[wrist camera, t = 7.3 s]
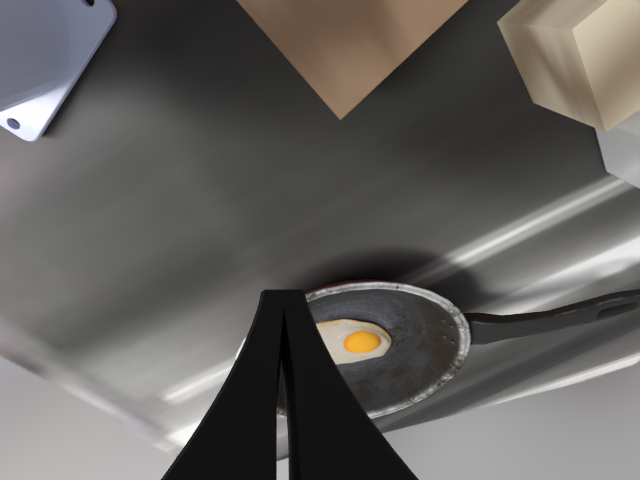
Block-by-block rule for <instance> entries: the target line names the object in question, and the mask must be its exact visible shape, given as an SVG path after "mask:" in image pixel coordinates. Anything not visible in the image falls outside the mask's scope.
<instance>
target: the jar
mask: <svg viewBox="0 0 640 480" xmlns="http://www.w3.org/2000/svg"><path fill="white" fill-rule="evenodd" d="M595 131H596V135H597V138H598V142H599V146H600V150H601V154H602V157H603V161H604V165H605V169H606V171H607V172H608V173H610V174H612V175H614V176H616V177H618V178H620V179H622V180H624V181H626V182H627V183H629V184H631V185H633V186H635V187H637V188H639V189H640V110H638V111H637V112H635V113H634V114H632V115H631V116H629V117H628V118H626V119H625V120H623V121H622V122H620V123H619V124H617V125H616V126H614V127H613V128H611V129H610V130H608V131H607V132H604V131H602V130H599V129H597V128H595Z"/></svg>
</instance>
